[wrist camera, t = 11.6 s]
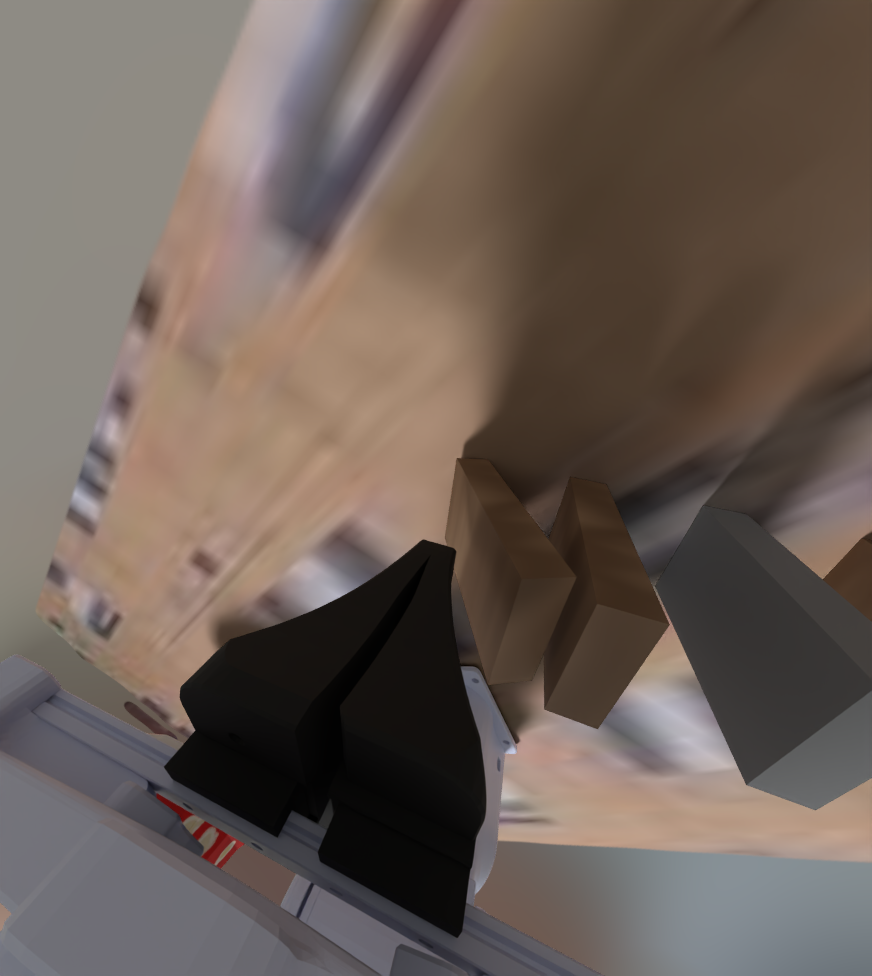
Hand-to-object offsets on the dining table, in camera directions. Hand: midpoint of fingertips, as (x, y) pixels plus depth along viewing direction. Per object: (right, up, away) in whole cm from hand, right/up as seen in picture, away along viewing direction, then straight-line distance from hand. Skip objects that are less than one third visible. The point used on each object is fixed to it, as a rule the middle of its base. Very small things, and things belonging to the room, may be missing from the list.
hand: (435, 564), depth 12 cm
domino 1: (+2, +2, +5) cm, 5 cm away
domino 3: (+12, 0, +3) cm, 12 cm away
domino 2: (+7, +1, +4) cm, 8 cm away
